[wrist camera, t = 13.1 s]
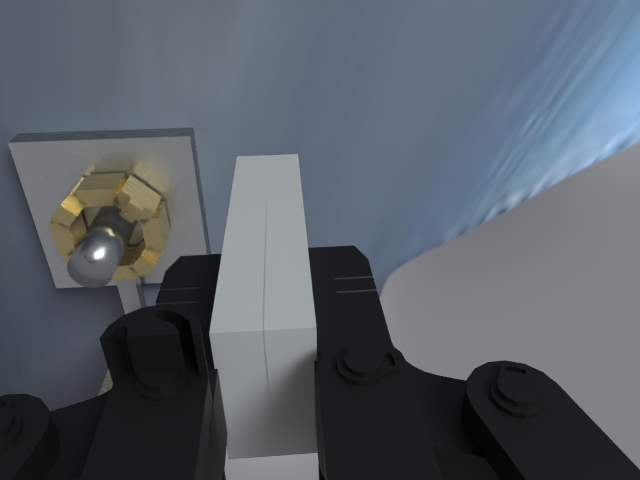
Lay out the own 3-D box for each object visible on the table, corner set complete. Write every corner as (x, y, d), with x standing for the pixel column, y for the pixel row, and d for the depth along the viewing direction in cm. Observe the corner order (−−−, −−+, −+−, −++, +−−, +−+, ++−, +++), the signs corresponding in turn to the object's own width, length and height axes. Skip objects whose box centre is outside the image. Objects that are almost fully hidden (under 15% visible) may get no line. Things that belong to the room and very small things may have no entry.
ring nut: (52, 176, 42) (-42, 282, 29) (158, 171, 42) (110, 273, 30) (114, 375, 53) (64, 514, 41) (196, 370, 54) (173, 505, 41)
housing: (63, 275, 50) (20, 348, 41) (18, 133, 42) (-47, 186, 34) (212, 268, 50) (200, 338, 42) (193, 127, 43) (173, 177, 35)
